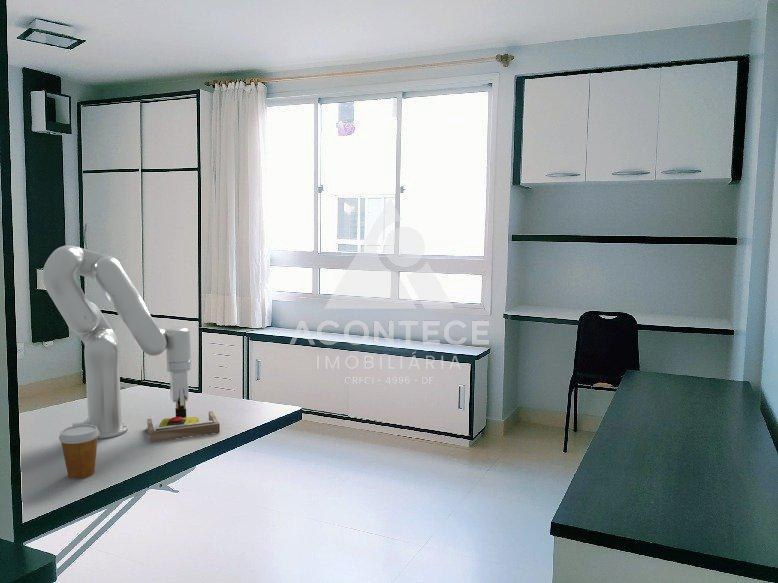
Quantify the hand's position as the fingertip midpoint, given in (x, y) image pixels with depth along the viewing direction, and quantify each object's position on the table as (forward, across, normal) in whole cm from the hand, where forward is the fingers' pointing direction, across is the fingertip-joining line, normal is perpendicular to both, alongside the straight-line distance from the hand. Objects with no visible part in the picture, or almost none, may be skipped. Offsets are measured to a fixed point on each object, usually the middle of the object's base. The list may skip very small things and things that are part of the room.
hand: (181, 419), depth 203 cm
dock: (+1, +8, 0) cm, 8 cm away
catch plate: (+1, +12, 0) cm, 12 cm away
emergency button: (+2, +6, -1) cm, 7 cm away
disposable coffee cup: (+1, +32, -29) cm, 43 cm away
